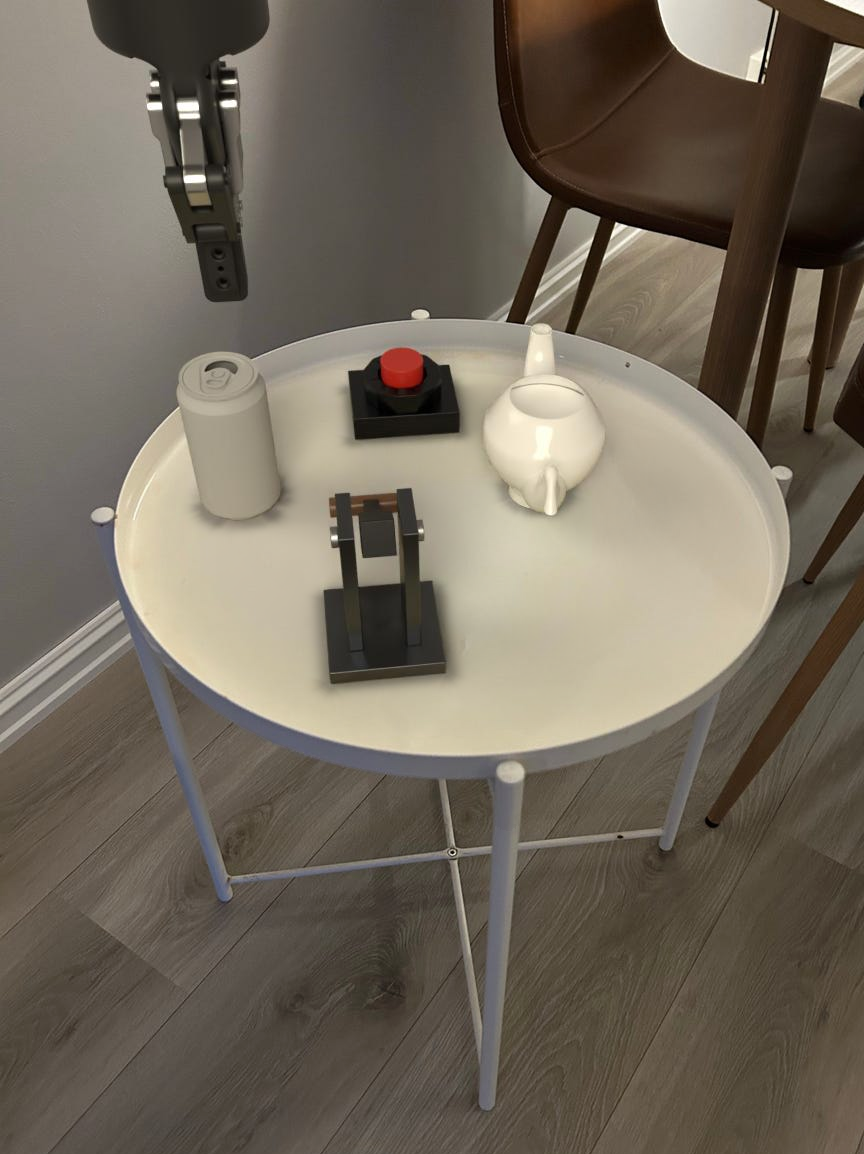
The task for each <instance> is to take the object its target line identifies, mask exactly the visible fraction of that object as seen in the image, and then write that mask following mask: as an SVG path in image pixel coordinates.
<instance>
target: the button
mask: <svg viewBox="0 0 864 1154" xmlns="http://www.w3.org/2000/svg"><path fill="white" fill-rule="evenodd" d="M421 354H422V353H420V352H419V351H418V350H416V349H413V348H411V347H410V348H409V347H394V348H391V349H388V350H386V351H384V352H383V354H381V355H382V356H381V355H380V356H381V359H380V363H381V379H382V381H383V383H384V384H386V385H387V386H391V387H395V388H408V387H414V386H416V385H418V384H420V383H421V382H422V380H423V357H422V355H423V354H422V355H421Z"/></svg>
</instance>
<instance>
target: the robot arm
mask: <svg viewBox="0 0 864 1154" xmlns="http://www.w3.org/2000/svg"><path fill="white" fill-rule="evenodd" d="M86 3H87V8H88V13H89V17H90V21H91V26H92V30H93V32H94V35H95V36H96V38H97V39H98V41H100V43H101V44H102V45H103V46H104V47H106V48H107V49H108V50H110V51H112V52H114V53H115V54H117V55H120V56H122V57H125V58H128V59H137V60H140V61H143V62H145V63H147V64H149V65H150V66H152V67H153V68H154V69H149V71H148V72H149V74H148V75H149V76H148V77H149V84H150V89H151V92H146V93H145V100H146V109H147V114H148V120H149V125H150V128H151V133H152V135H153V136H154V137H155V138H156V139H157V140H158V141H159V145H160V148H161V149H160V150H161V154H162V158H163V159H162V160H163V163H164V175H162V181H163V182H162V183H163V186H164V189H166V190H167V194H168V196H169V199H170V201H171V204H172V207H173V210H174V213H175V214H176V217H177V220H178V223H179V226H180V228H181V233H182V236H183V237H184V239H185V242H186V244H189V245H190V244H195V249H196V254H197V260H198V266H199V271H200V276H201V282H202V287H203V293H204V296H205V298H206V300H208V301H209V302H211V303H228V302H229V303H231V302H242V301H244V300H246V299H247V298H248V295H249V277H248V270H247V263H246V256H245V250H244V249H245V248H244V243H243V235H242V228H243V227H244V222H243V216H242V211H244V205H243V200H242V199H240V194H241V193H242V192H243V191H244V169H243V168H244V149H243V143H242V135H241V130H242V129H241V128H242V127H241V110H240V109H241V96H242V95H241V89H240V80H239V72H238V67H237V66H231V67H229V66H227V62H226V60H220V58H224V57H225V56H228V55H229V56H236V55H239V54H242V53H244V52H245V51H248V50H250V49H252V48H253V47H254V46H256V45H257V44H259V42H261V40H262V39H264V37H265V36H266V34H267V32H268V30H269V27H270V21H271V20H270V19H271V17H270V15H271V14H270V7H269V0H86Z"/></svg>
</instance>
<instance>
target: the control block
mask: <svg viewBox="0 0 864 1154" xmlns="http://www.w3.org/2000/svg"><path fill="white" fill-rule="evenodd" d="M420 354H421V355H422V357H423V380H422V382H421V383H420V384H418V385H416V386H414V387H408V388H395V387H391V386H387V385H386V384H384V383H383V381H382V379H381V363H380V359H381V356H382V355H383V354H380V355H378V356H376V357H373V358H372V359H371V360H370V361H369V363H368V364H367V365H366V366H365V368H364V369H355V370H354V369H353V370H348V371H347V378H348V390H349V399H350V407H351V417H352V428H353V435H354V440H355V441H356V440H357V441H358V440H368V439H369V440H371V439H386V438H399V437H415V436H416V437H417V436H428V435H442V434H443V435H445V434H457V433H460V427H461V426H460V420H461V415H460V414H461V411H460V406H459V403H458V399H457V398H458V397H457V393H456V388H455V384H454V380H453V375H452V370H451V365H450V364H438V363H437V362H436V361H434V360H433V359H432V358H430V356H428V355H426V354H422V353H420Z"/></svg>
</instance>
